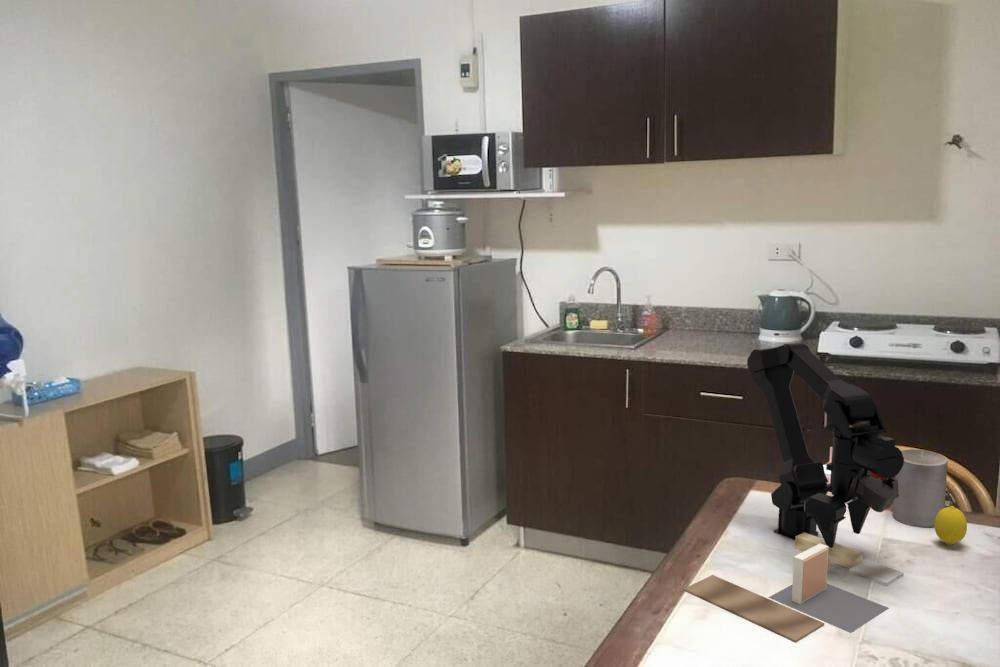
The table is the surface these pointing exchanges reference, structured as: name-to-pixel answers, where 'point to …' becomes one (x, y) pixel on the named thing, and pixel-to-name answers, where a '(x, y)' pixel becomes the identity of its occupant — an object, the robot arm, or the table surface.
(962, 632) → the table surface
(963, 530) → the lemon
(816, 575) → the tile
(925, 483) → the pillar candle
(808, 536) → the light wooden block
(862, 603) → the mat
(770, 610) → the board
